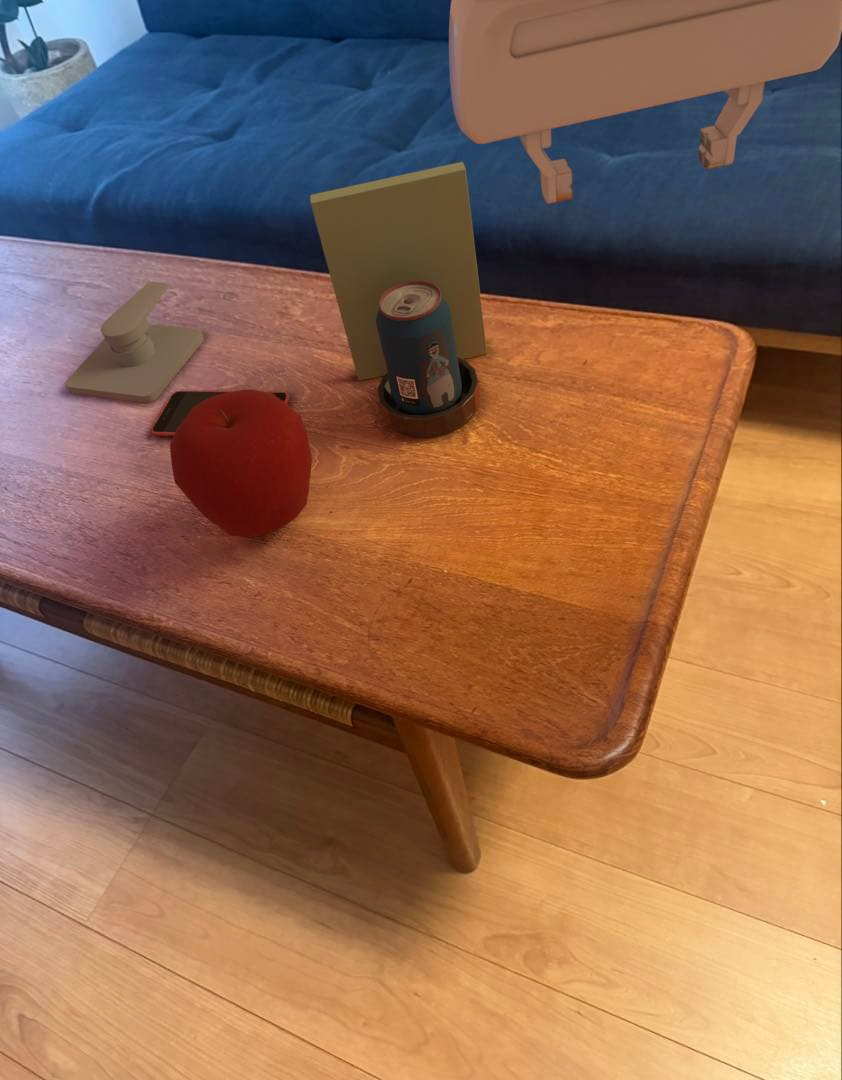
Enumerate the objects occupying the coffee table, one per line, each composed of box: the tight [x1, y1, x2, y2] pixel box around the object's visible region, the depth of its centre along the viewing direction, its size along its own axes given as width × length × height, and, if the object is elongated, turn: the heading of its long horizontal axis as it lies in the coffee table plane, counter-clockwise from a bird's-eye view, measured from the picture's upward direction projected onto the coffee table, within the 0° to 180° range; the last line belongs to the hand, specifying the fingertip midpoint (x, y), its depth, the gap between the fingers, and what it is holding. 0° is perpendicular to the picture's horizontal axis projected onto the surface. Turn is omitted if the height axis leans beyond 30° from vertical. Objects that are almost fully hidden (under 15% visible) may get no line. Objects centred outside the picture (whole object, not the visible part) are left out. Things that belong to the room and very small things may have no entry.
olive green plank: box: [309, 161, 488, 382], centre depth 80 cm, size 14×2×20 cm, turn 98°
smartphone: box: [150, 390, 290, 437], centre depth 87 cm, size 7×1×14 cm
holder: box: [376, 358, 481, 439], centre depth 82 cm, size 10×10×2 cm
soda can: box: [376, 281, 462, 416], centre depth 78 cm, size 7×7×12 cm
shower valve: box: [64, 281, 205, 404], centre depth 95 cm, size 12×6×15 cm
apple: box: [169, 389, 313, 538], centre depth 71 cm, size 12×12×13 cm
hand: (635, 180), depth 48 cm, fingers open, 8 cm apart
